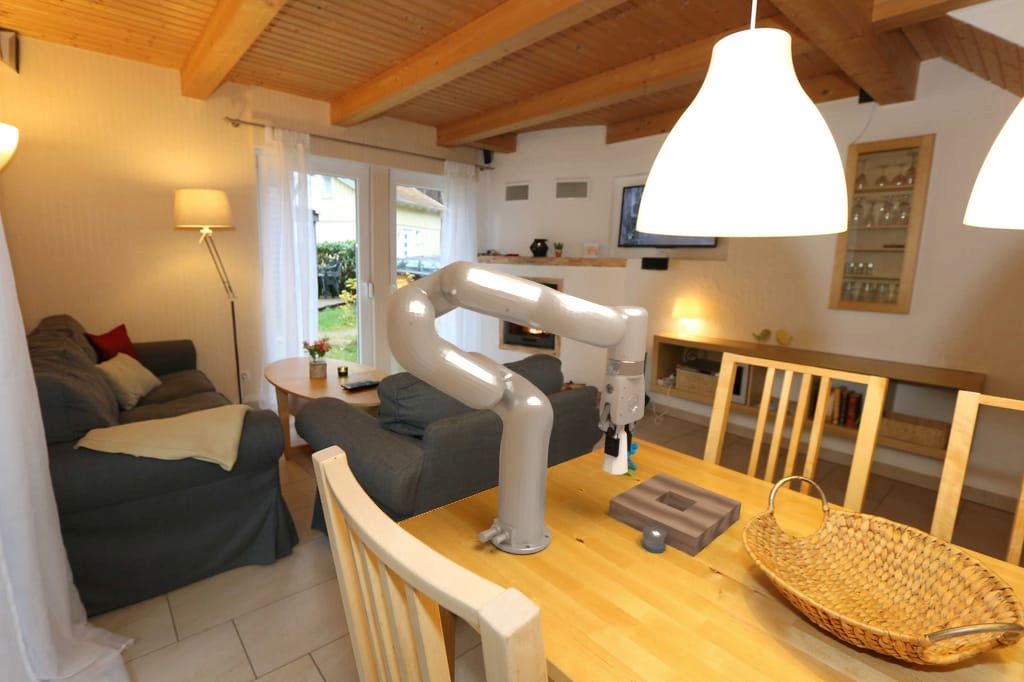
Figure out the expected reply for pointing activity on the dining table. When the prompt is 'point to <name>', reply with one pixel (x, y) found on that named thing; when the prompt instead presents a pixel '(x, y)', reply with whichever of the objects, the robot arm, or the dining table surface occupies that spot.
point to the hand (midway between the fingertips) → (617, 451)
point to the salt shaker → (617, 463)
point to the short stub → (654, 538)
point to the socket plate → (676, 511)
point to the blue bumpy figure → (633, 450)
